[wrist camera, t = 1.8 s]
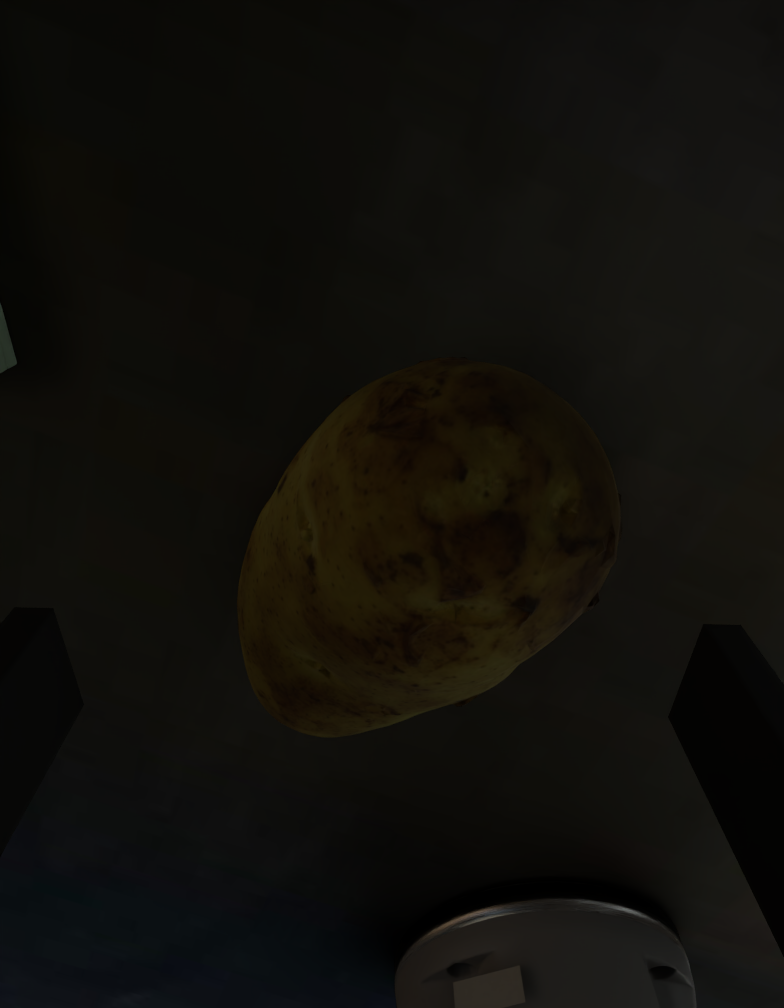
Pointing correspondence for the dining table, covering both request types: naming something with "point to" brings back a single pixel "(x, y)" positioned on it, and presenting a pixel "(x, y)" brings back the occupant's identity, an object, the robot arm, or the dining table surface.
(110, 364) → the dining table surface
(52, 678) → the robot arm
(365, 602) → the potato
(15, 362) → the tray
